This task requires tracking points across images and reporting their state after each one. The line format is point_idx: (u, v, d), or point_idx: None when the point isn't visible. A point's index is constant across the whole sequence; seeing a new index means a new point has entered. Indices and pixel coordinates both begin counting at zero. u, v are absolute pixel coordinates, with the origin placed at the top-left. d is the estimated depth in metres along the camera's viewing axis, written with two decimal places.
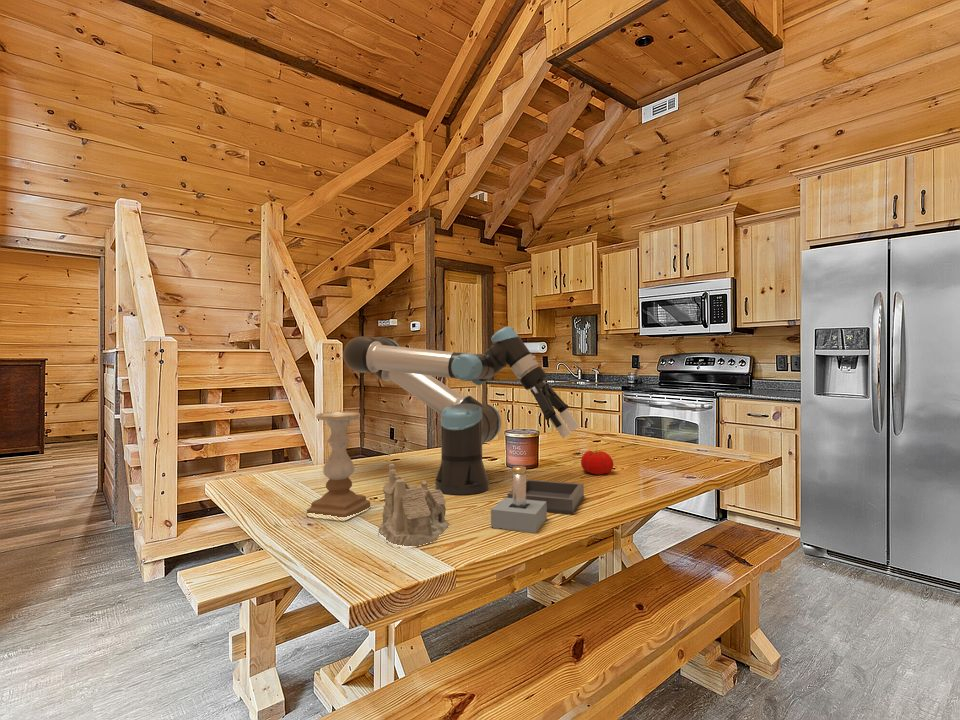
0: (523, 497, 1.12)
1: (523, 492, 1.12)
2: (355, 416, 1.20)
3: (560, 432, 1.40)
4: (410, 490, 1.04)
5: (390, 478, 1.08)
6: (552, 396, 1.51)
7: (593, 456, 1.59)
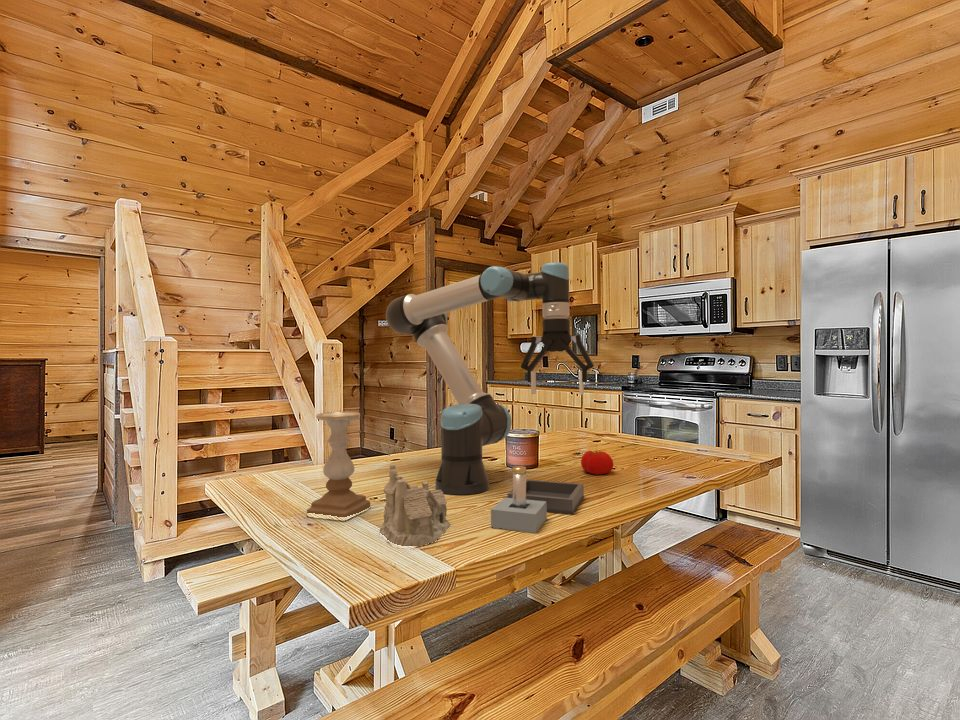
0: (523, 497, 1.12)
1: (523, 492, 1.12)
2: (355, 416, 1.20)
3: None
4: (411, 490, 1.04)
5: (391, 478, 1.08)
6: None
7: (593, 456, 1.59)
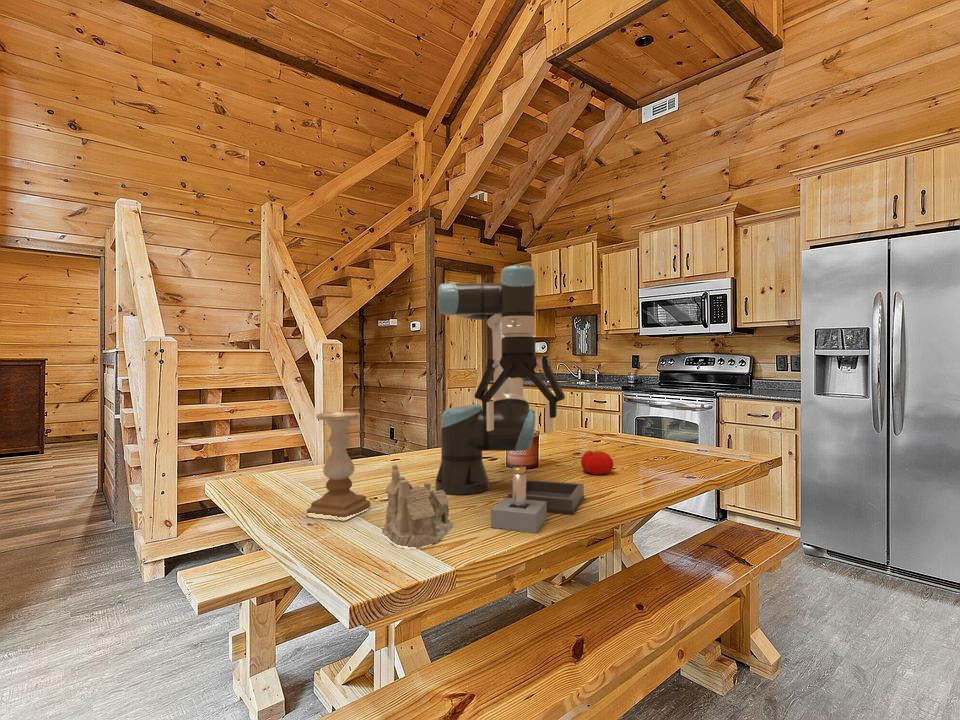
0: (523, 497, 1.12)
1: (523, 492, 1.12)
2: (355, 416, 1.20)
3: None
4: (414, 490, 1.04)
5: (393, 479, 1.07)
6: None
7: (593, 456, 1.59)
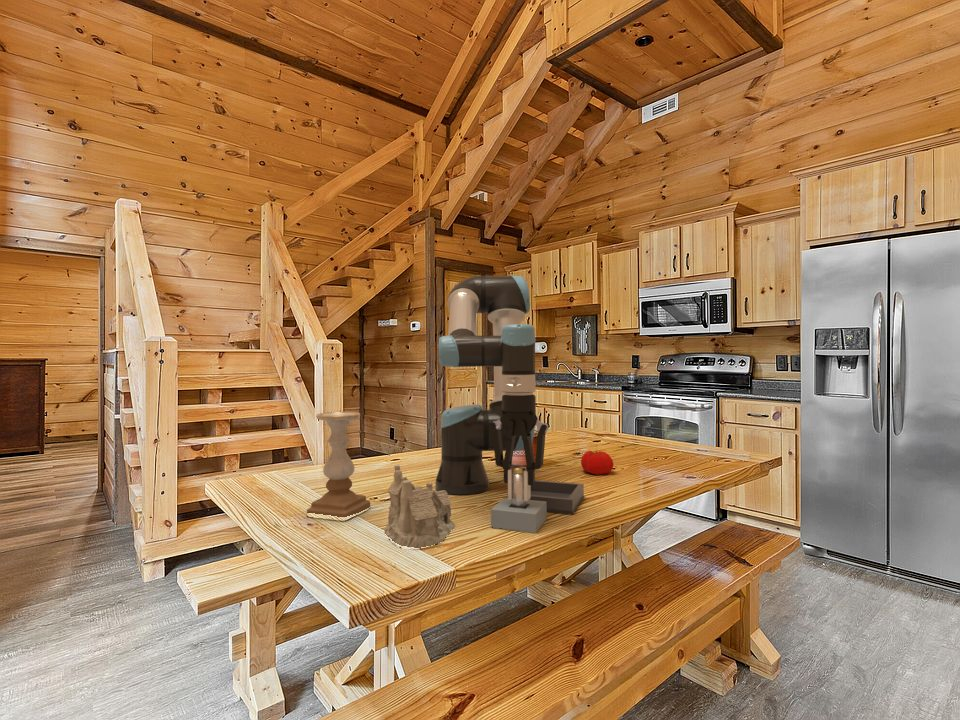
0: (523, 497, 1.12)
1: (523, 492, 1.12)
2: (355, 416, 1.20)
3: None
4: (417, 491, 1.03)
5: (396, 479, 1.07)
6: None
7: (593, 456, 1.59)
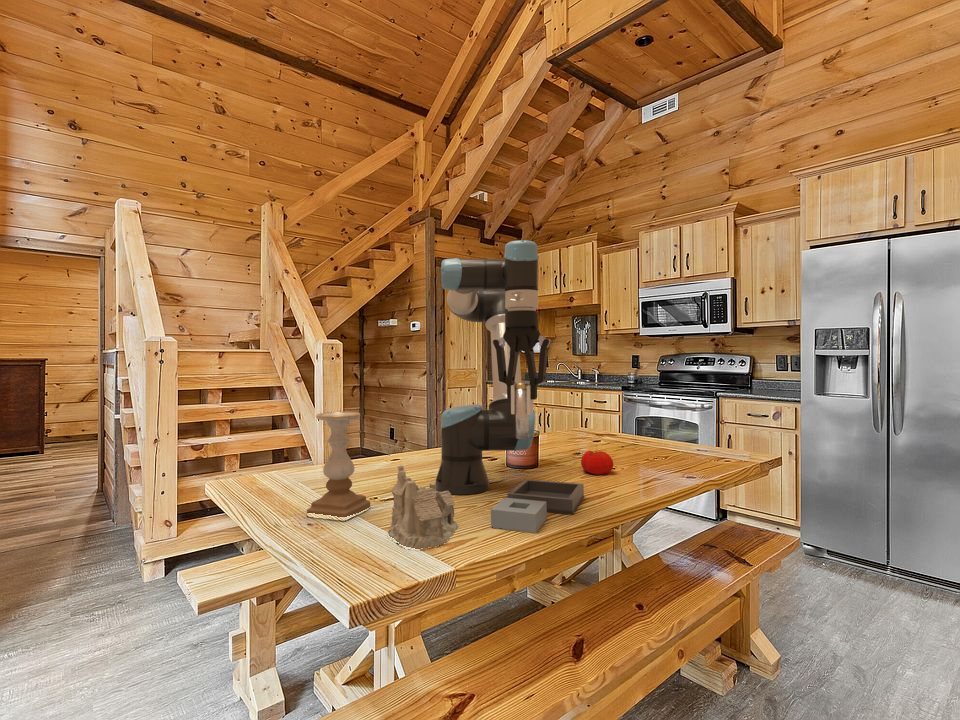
0: (526, 411, 1.14)
1: (526, 406, 1.14)
2: (355, 416, 1.20)
3: None
4: (421, 491, 1.03)
5: (399, 479, 1.06)
6: None
7: (593, 456, 1.59)
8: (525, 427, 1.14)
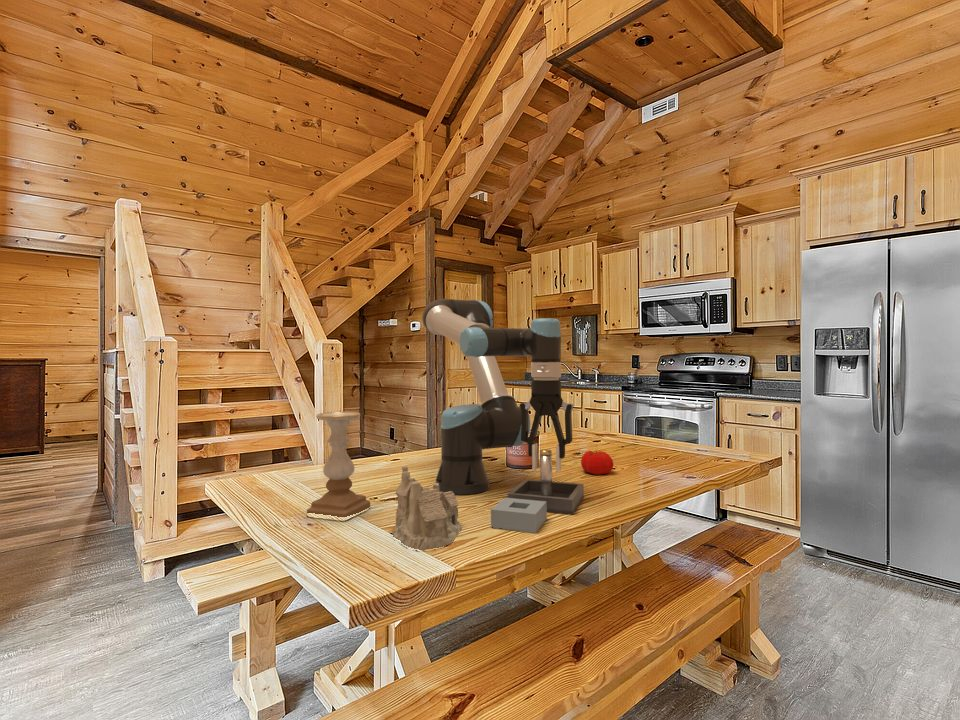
0: (550, 476, 1.28)
1: (550, 471, 1.28)
2: (355, 416, 1.20)
3: None
4: (426, 492, 1.02)
5: (404, 480, 1.06)
6: None
7: (593, 456, 1.59)
8: (549, 490, 1.28)
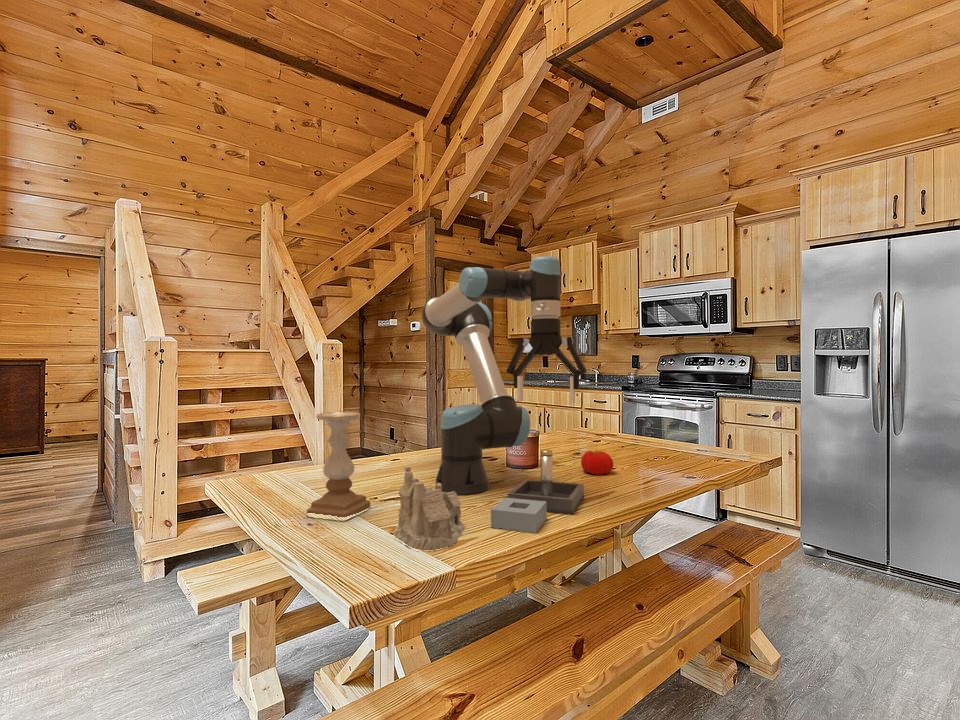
0: (550, 476, 1.28)
1: (550, 472, 1.28)
2: (355, 416, 1.20)
3: None
4: (429, 492, 1.02)
5: (406, 480, 1.06)
6: None
7: (593, 456, 1.59)
8: (550, 490, 1.28)
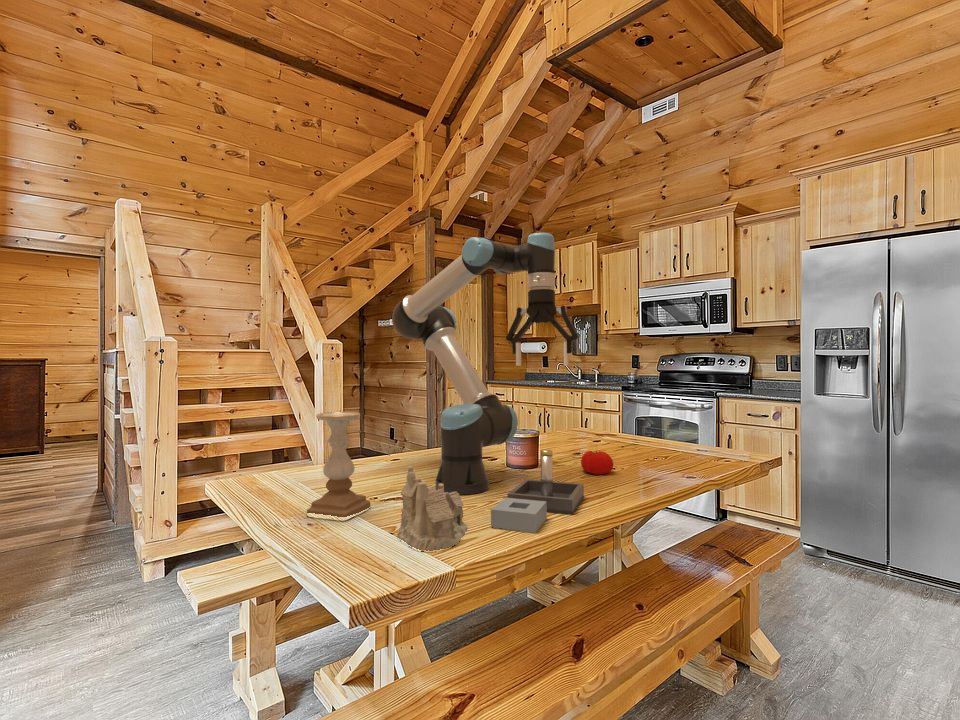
0: (550, 476, 1.28)
1: (550, 472, 1.28)
2: (355, 416, 1.20)
3: None
4: (432, 492, 1.02)
5: (409, 481, 1.05)
6: None
7: (593, 456, 1.59)
8: (550, 490, 1.28)
